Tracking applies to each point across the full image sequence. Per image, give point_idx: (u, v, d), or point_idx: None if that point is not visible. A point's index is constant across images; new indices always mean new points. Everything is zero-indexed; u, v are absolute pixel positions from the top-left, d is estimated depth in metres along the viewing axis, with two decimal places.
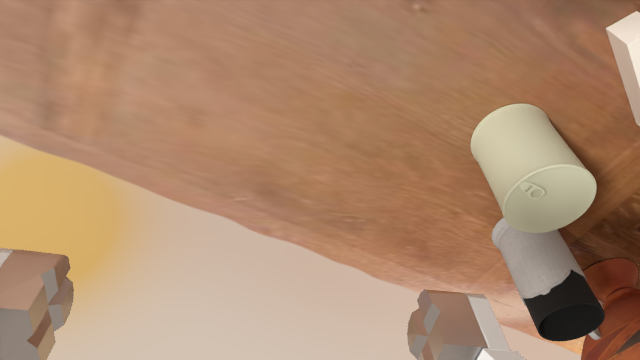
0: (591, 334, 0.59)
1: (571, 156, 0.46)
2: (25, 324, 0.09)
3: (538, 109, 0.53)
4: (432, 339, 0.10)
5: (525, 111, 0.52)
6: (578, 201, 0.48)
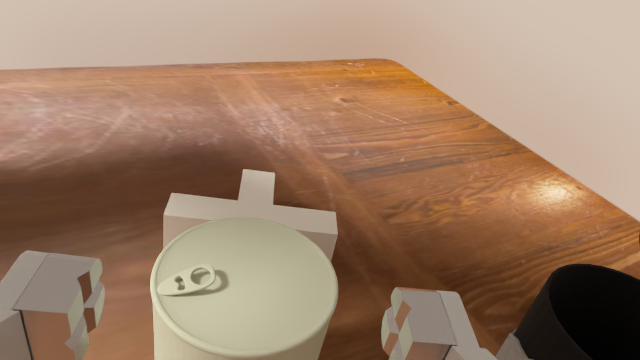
0: None
1: None
2: (64, 327, 0.09)
3: None
4: (402, 336, 0.10)
5: None
6: (288, 247, 0.26)
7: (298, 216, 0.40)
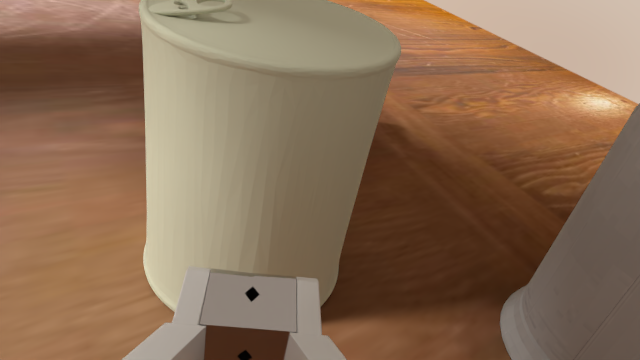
0: None
1: None
2: (241, 341, 0.09)
3: None
4: None
5: None
6: (326, 11, 0.19)
7: None
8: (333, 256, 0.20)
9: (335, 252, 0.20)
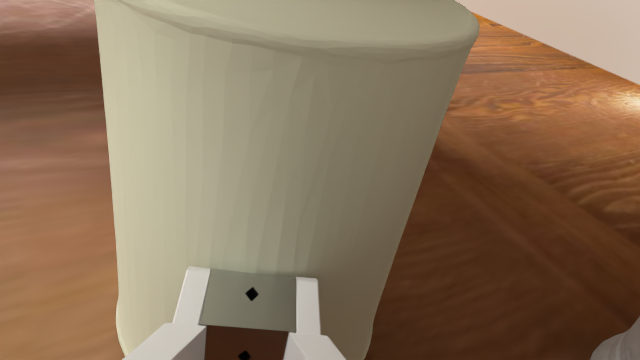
0: None
1: None
2: (241, 341, 0.09)
3: None
4: None
5: None
6: None
7: None
8: (372, 312, 0.15)
9: (374, 307, 0.15)
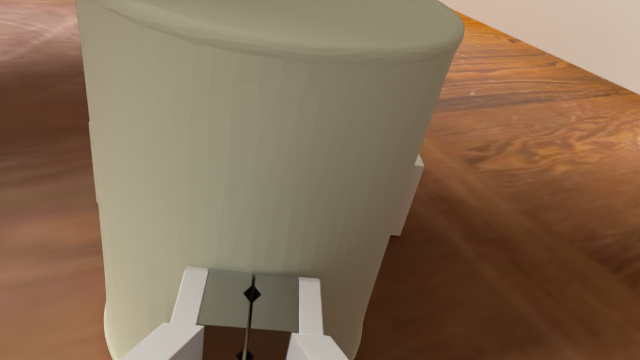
0: None
1: None
2: (239, 340, 0.09)
3: None
4: (250, 324, 0.10)
5: None
6: None
7: None
8: (366, 305, 0.15)
9: (368, 299, 0.15)
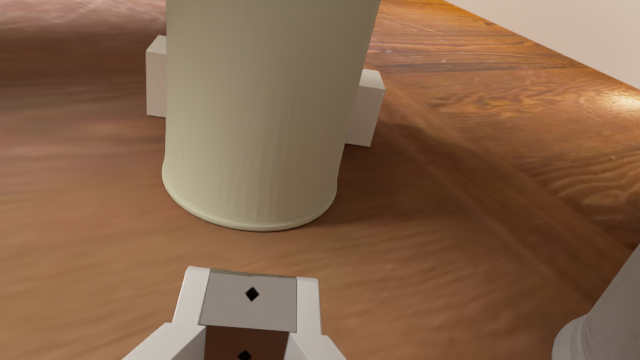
0: None
1: None
2: (241, 341, 0.09)
3: None
4: None
5: None
6: None
7: None
8: (336, 161, 0.23)
9: (338, 158, 0.23)
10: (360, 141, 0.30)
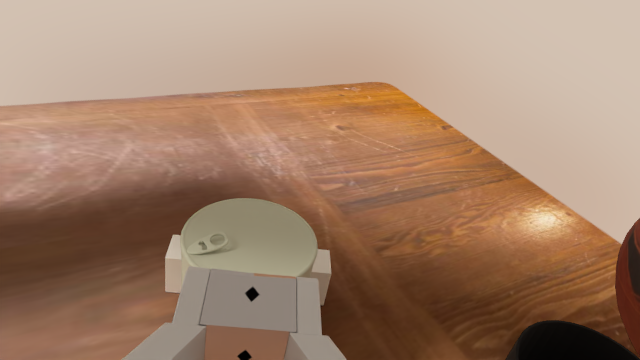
0: None
1: None
2: (240, 341, 0.09)
3: None
4: None
5: None
6: (277, 217, 0.34)
7: None
8: None
9: None
10: None
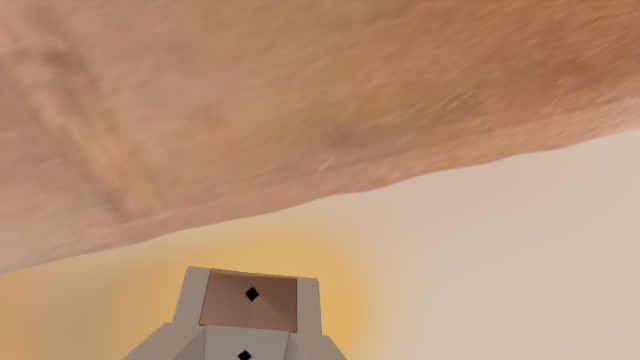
0: None
1: None
2: (240, 341, 0.09)
3: None
4: None
5: None
6: None
7: None
8: None
9: None
10: None
